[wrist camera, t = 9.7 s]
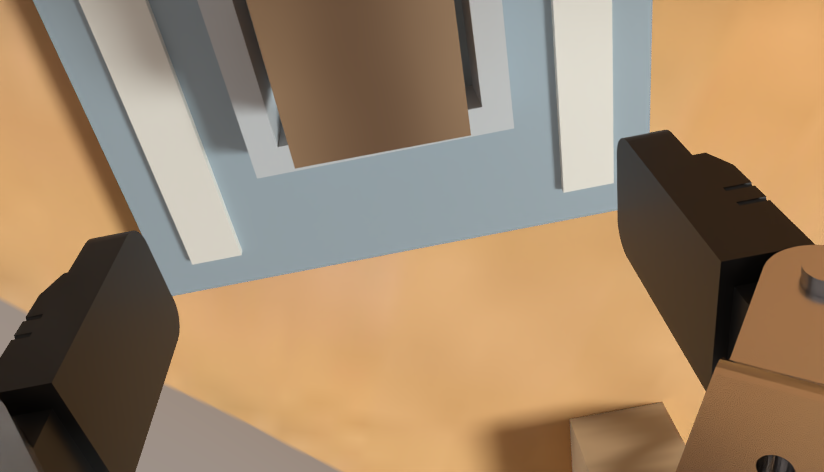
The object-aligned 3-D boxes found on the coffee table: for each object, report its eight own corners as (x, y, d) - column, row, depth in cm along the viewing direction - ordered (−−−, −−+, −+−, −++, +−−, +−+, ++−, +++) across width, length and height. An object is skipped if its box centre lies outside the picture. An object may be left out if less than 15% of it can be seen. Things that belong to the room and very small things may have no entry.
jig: (645, -458, 18) (698, -501, 16) (637, 189, 29) (667, 230, 26) (-88, -304, 19) (-160, -320, 16) (176, 279, 30) (160, 327, 27)
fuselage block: (421, -90, 21) (447, -54, 16) (443, 63, 24) (471, 135, 19) (264, -60, 22) (242, -15, 16) (303, 90, 24) (294, 168, 19)
